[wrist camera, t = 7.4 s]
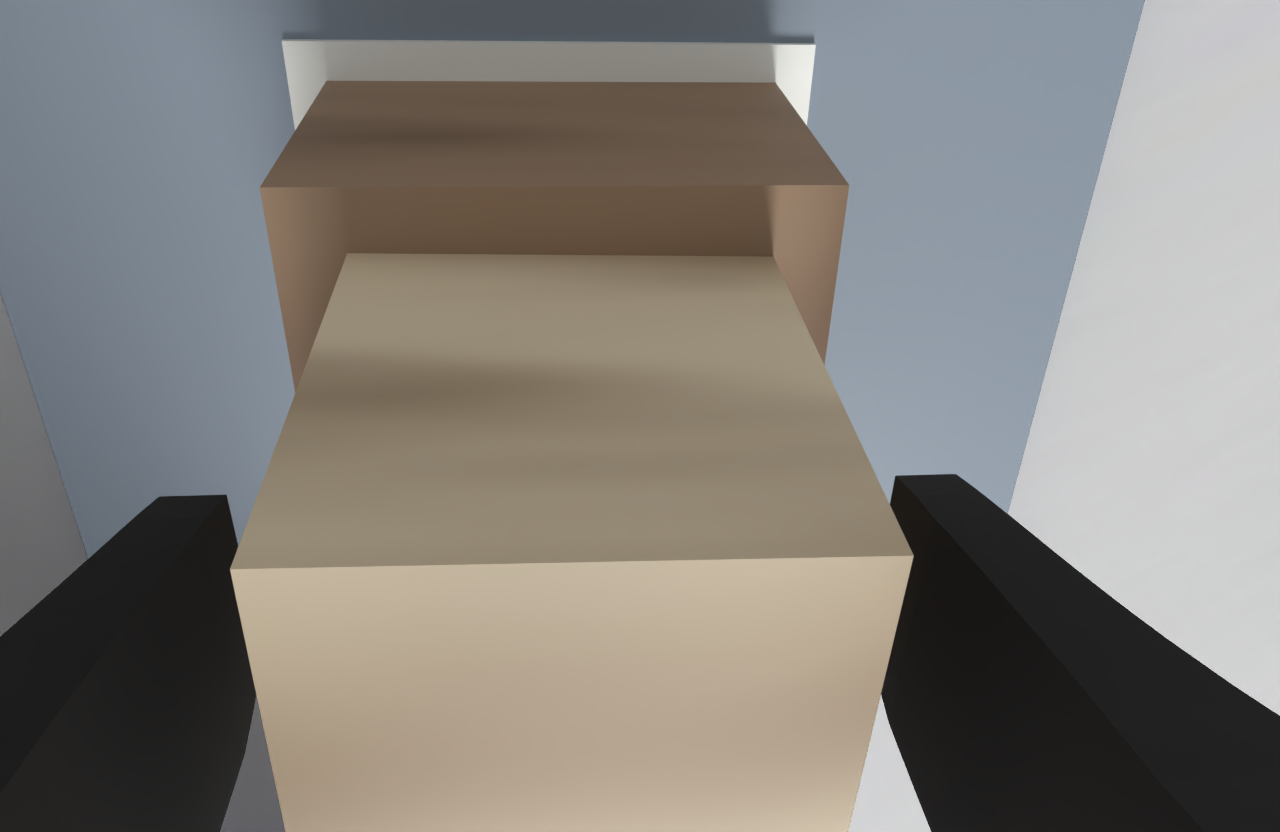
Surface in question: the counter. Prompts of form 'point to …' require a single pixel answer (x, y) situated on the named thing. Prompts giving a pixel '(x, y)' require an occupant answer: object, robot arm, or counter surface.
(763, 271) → the oak block
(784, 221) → the walnut block
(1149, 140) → the counter surface
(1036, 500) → the counter surface
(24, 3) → the board
